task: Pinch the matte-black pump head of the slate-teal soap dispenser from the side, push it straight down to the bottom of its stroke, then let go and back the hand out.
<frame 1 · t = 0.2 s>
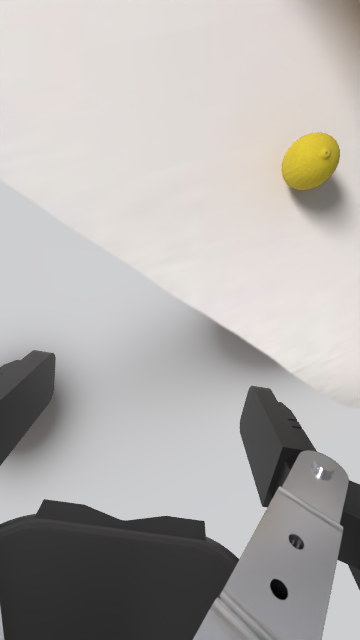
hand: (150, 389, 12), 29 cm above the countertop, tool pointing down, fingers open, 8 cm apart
lemon: (293, 171, 36), on the countertop
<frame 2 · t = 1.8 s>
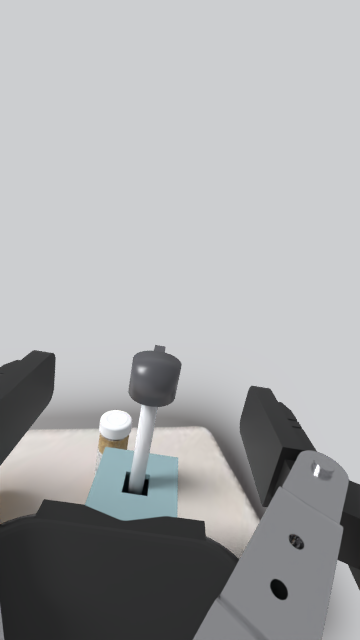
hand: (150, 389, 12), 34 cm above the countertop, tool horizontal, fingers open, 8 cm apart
sprinkles bottle: (107, 490, 45), on the countertop
pump: (146, 424, 27), point 23 cm above the countertop, slide at 0.0 cm
dispenser: (116, 599, 32), on the countertop
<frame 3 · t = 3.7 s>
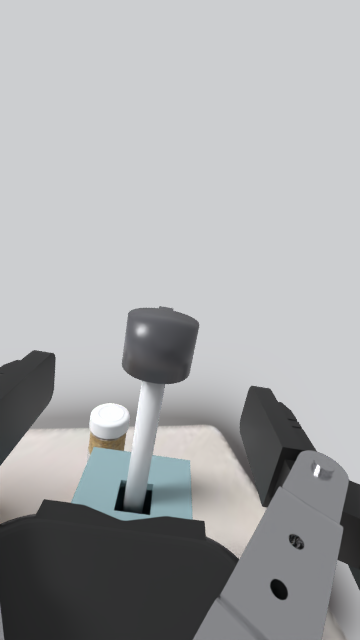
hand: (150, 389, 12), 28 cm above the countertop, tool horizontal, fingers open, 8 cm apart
sprinkles bottle: (100, 501, 37), on the countertop
pump: (148, 414, 19), point 23 cm above the countertop, slide at 0.0 cm
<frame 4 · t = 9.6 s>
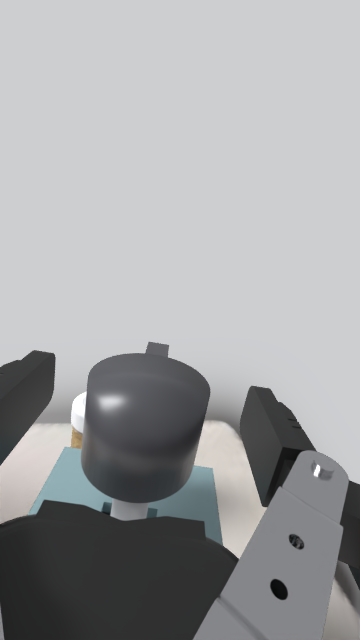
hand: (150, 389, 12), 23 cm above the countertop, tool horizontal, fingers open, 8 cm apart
sprinkles bottle: (87, 515, 29), on the countertop
pump: (130, 508, 13), point 17 cm above the countertop, slide at 6.0 cm
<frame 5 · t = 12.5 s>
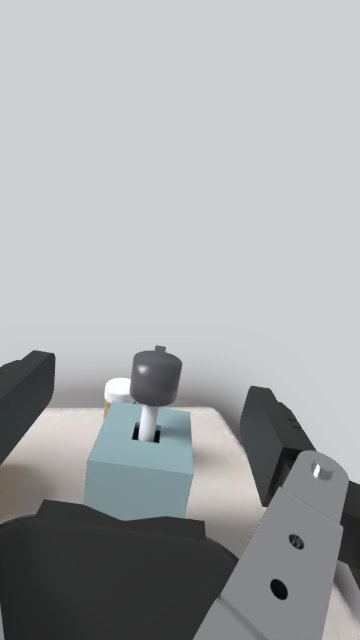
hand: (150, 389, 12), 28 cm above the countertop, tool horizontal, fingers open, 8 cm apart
sprinkles bottle: (113, 464, 43), on the countertop
pump: (148, 425, 26), point 17 cm above the countertop, slide at 6.0 cm
dispenser: (125, 568, 30), on the countertop
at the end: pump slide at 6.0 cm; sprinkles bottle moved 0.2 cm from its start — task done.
